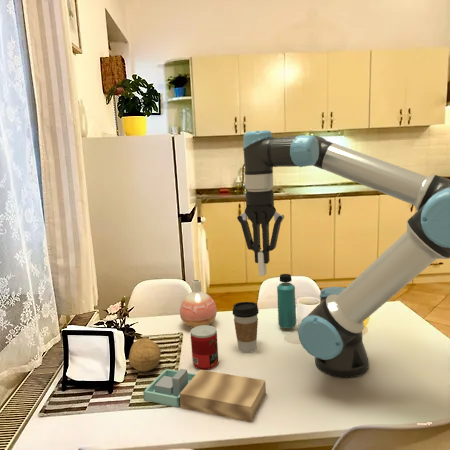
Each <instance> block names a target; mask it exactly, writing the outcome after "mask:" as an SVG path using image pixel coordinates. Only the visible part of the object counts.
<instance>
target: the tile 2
mask: <svg viewBox="0 0 450 450" xmlns="http://www.w3.org/2000/svg"><path fill="white" fill-rule="evenodd" d="M177 371H178V372H177V373H176V374H175V375H174V377H173V378H172V385H173V395H174V396H179V394H180V393H181V391H182V390H183V389H184V388H185V387H186V386H187V384H188V373H189V371H188V369H186V368H179V370H177Z"/></svg>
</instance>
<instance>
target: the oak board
mask: <svg viewBox="0 0 450 450" xmlns="http://www.w3.org/2000/svg"><path fill="white" fill-rule="evenodd" d="M195 374H196V375H195V376H194V377H193V378H192V380H191V381H190V382H189V383H188V384H187V386H186V387H185V388H184V389H183V390H182V391H181V393H180V403H181V406H180V408H181V409H186V410H188V411H190V410H191V411H195V412H199V413H205V414H209V415H214V416H220V417H224V418H229V419H233V420H239V421H244V422H249V423H253V420H254V419H255V417H256V414H257V413H258V411H259V409H260V406H261V405H262V403H263V401H264V399H265V397H266V395H267V388H266V387H267V385H266V380H265V379H260V378H254V377H247V376H242V375H237V374H236V375H235V374H227V373H222V372H218V371H212V370H211V371H210V370H201V369H198V371H197V372H196V373H195Z"/></svg>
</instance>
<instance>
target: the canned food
mask: <svg viewBox="0 0 450 450" xmlns="http://www.w3.org/2000/svg"><path fill="white" fill-rule="evenodd" d="M190 329H191V330H190V343H191V344H190V345H191V359H192V365H193V367H195V368H196V369H198V370H205V371H209V370H212V369H215V368H216V367H217V366H218V364H219V347H218V334H217V333H218V332H217V328H216V327H215V326H213V325H210V324H209V325H201V326H197V327H194V328H190Z"/></svg>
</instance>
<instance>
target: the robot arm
mask: <svg viewBox="0 0 450 450" xmlns="http://www.w3.org/2000/svg"><path fill="white" fill-rule="evenodd" d="M242 147H243V148H242V151H243V162H244V163H243V164H244V187H245V188H244V189H246V191H245V205H246V206H245V209H244V212H243V213H242V214H240V215H237V217H236V219H237V221H238V222H239V223H240V225H241V228H242V229H241V230H242V233H243V236H244V239H245V243H246V247H247V249H248V250H251V251H253V253H254V263H255V264H258V267H257V269H258V277H259V276H260V277H261V276H262V277H265V275H267V273H268V272H267V264H269V263H270V252H272V251H273V250H275V249H276V248H277V244H278V243H277V242H278V239H279V233H280V229H281V224H282V222H283V221H284V219H285V215H284V214H280V213H278V212H277V209H276V207H275V199H274V197H275V196H274V195H275V194H274V190H273V188H274V168H278V167H280V168H281V167H282V168H283V167H284V168H285V167H286V168H287V167H289V168H290V167H295V168H296V167H299V168H303V167H312V166H313V167H316V168H318V169H321V170H324V171H326V172H328V173H332V174H335V175H337V176H340V177H342V178H343V179H347V180H350V181H352V182H354V183H357V184H360V185H361V186H365V187H367V188H369V189H371V190H374V191H377V192H380V193H381V194H385V195H387V196H389V197H392V198H395V199H398V200H400V201H402V202H405V203H408V204H410V205H412V206H414V208H415V210H416V212H415V213H414V214H413V215H411V216H410V218H408V219H407V220H406V231H405V232H404V233H403V234H402V235H401V236H400V237H398V238H397V240H395V241H394V242H393V243H392V244H391V245H390V246H389V247H388V248H387V249H386V250H385V251H384V252H382V253H381V254H380V255H379V256H378V257H377V258H376V259H375V260H374V261H372V263H371V264H370V265H369V266H368V267H366V269H364V270H363V271H362V272H361V273H360V274H359V275H358V276H357V277H356V278H355V279H354V280H353V281H351V282H350V283H349V284H348V285H347V286H346V287H344V286H342V287H341V286H329V287H327V286H326V287H324V288H322V289H321V290H320V293H319V294H320V295H319V299H320V302H319V303H318V305H316V306H315V307H314V309H313V310H312V311H310V313H308V314H307V315H306V316H305V317H303V318H302V320H301V322H300V323H299V326H298V329H297V335H298V340H299V342H300V344H301V346H302V348H303V349H304V350H305V351H306V352H307V353H308V354H309V355H310V356H312V357H314V363H315V366H316V367H317V369H318V370H319V371H321V372H323V373H325V374H326V375H328V376H332V377H336V378H337V377H338V378H346V379H347V378H355V377H359V376H363V375H364V374H366V373H367V372H368V370H369V367H370V365H369V356H368V353H367V350H366V348H365V344H364V342H363V330H364V327H365V326H364V321H366V320H367V319H368V318H370V316H372V315H373V314H374V313H375V312H377V311H378V309H380V308H381V307H382V306H383V305H385V304H386V303H387V302H388V301H390V300H391V299H392V298H394V296H396V295H397V294H398V293H399V292H400V291H401V290H402V289H404V287H406V286H407V285H408V284H409V283H411V282H412V281H413V280H414V279H415V278H417V276H418V275H420V274H421V273H422V272H424V271H425V270H426V269H427V268H428V267H429V266H431V264H433V263H434V262H435V261H436V260H438V259H439V260H448V259H450V178H446V177H442V176H441V175H437V174H431V175H429V176H427V175H423V174H422V173H418V172H415V171H413V170H409V169H407V168H405V167H401V166H398V165H396V164H393V163H390V162H387V161H386V160H385V161H384V160H382V159H379V158H377V157H373V156H371V155H368V154H365V153H362V152H359V151H357V150H354V149H352V148H348V147H346V146H342V145H339V144H336V143H333V142H331V141H328V140H326V138H325V137H321V136H320V135H306V134H304V135H303V134H302V135H301V134H300V135H295V136H294V135H291V136H282V137H280V136H279V137H275V136H274V137H273V135H272V131H271V130H252V131H247V132H245V133H244V134H243V146H242ZM273 217H274V218H273ZM248 219H249V220H250V222H251V226H252V232H251V228H250V224H249V222H248ZM272 219H273V221H274V223H273V229H272V233H271V237H270V222H271V220H272ZM261 232H262V233H261ZM261 236H262V238H261ZM270 238H271V239H270ZM261 239H262V247H261Z"/></svg>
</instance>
